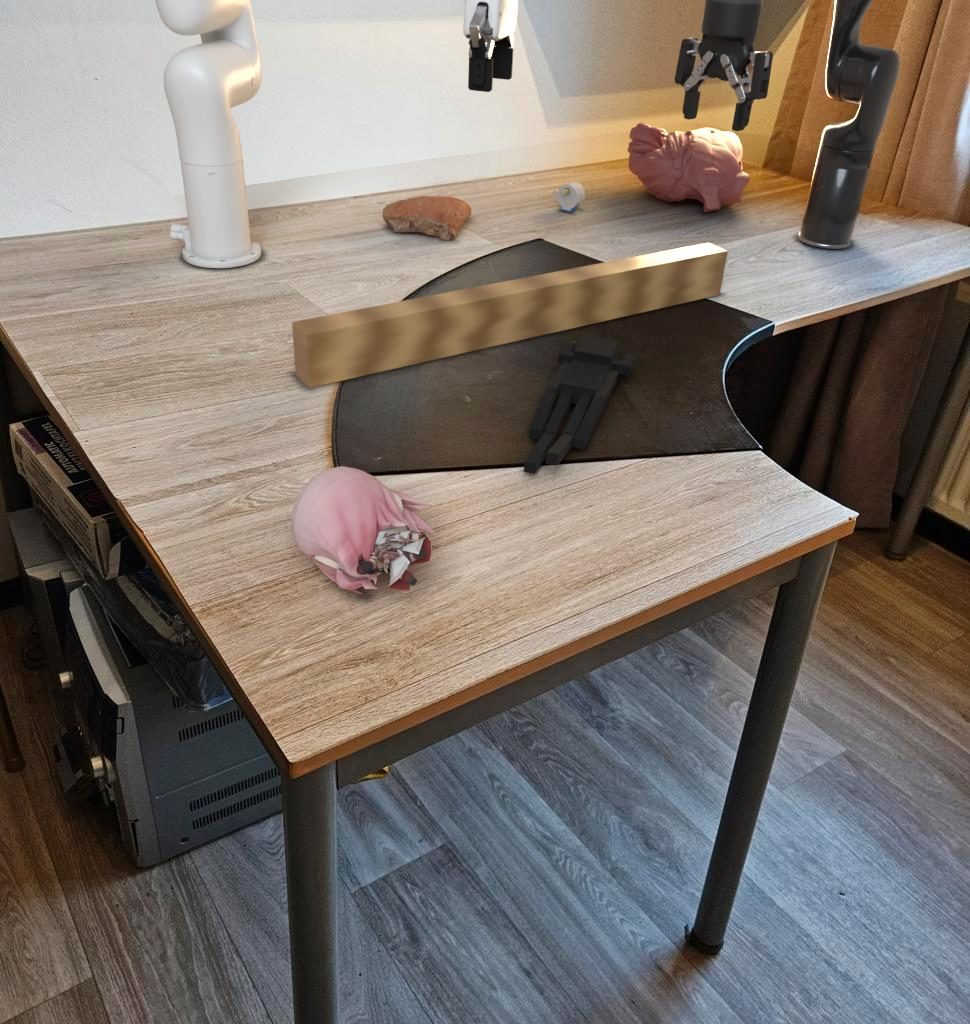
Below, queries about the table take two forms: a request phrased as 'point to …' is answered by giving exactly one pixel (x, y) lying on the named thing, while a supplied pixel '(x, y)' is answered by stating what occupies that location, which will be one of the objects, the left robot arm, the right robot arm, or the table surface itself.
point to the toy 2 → (575, 398)
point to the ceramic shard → (428, 215)
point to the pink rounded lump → (359, 529)
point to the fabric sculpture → (688, 165)
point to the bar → (500, 313)
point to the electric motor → (570, 196)
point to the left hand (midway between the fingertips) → (490, 84)
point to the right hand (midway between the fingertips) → (713, 124)
